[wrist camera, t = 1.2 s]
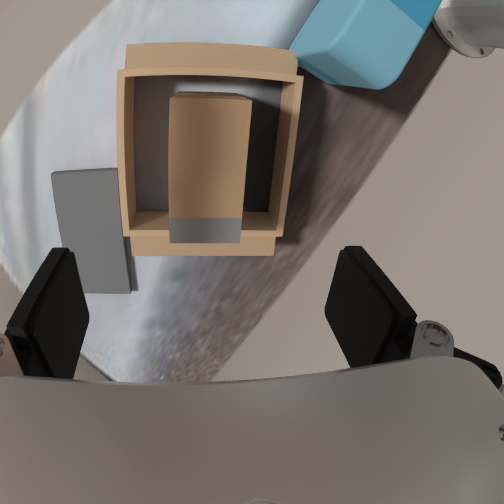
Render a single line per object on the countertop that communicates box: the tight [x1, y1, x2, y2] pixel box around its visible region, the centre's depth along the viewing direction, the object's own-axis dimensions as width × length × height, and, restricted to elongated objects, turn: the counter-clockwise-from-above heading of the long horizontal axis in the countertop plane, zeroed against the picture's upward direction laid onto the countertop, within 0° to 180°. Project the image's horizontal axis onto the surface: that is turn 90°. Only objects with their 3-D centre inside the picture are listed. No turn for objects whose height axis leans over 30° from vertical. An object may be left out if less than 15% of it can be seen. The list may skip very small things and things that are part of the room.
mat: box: [51, 168, 132, 294], centre depth 30 cm, size 7×14×1 cm, turn 175°
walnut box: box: [168, 91, 252, 243], centre depth 24 cm, size 5×10×9 cm, turn 175°
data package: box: [289, 0, 442, 90], centre depth 18 cm, size 12×4×12 cm, turn 151°
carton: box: [117, 42, 304, 256], centre depth 26 cm, size 14×18×4 cm
